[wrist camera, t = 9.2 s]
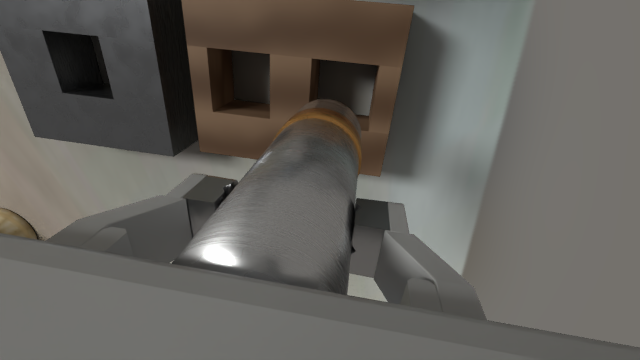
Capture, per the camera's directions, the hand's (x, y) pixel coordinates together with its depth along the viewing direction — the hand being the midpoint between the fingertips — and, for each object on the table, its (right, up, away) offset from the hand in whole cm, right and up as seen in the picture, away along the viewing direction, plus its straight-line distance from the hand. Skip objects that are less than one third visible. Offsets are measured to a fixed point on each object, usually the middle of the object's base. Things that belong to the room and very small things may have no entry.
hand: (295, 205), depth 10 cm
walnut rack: (-1, +11, +20) cm, 23 cm away
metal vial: (+1, +3, +7) cm, 8 cm away
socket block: (-21, +14, +22) cm, 33 cm away
